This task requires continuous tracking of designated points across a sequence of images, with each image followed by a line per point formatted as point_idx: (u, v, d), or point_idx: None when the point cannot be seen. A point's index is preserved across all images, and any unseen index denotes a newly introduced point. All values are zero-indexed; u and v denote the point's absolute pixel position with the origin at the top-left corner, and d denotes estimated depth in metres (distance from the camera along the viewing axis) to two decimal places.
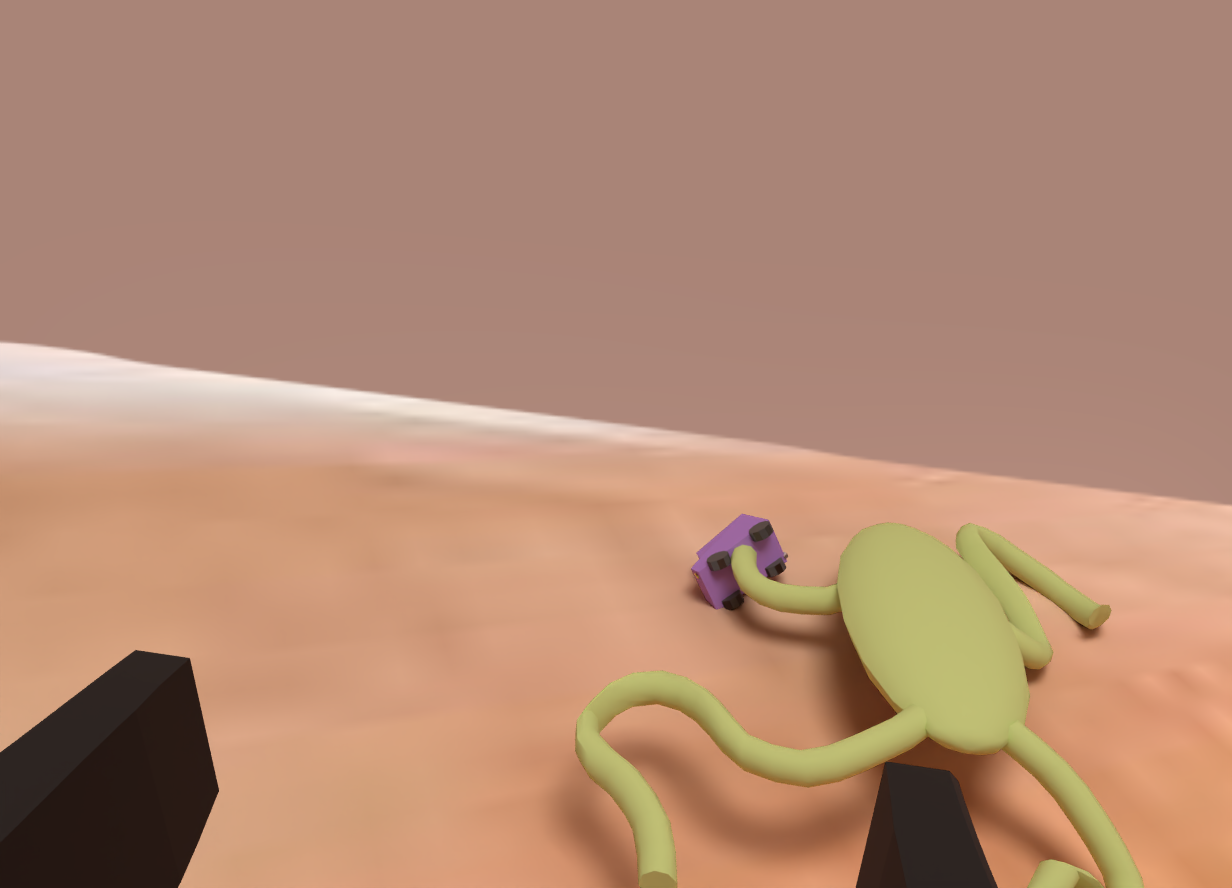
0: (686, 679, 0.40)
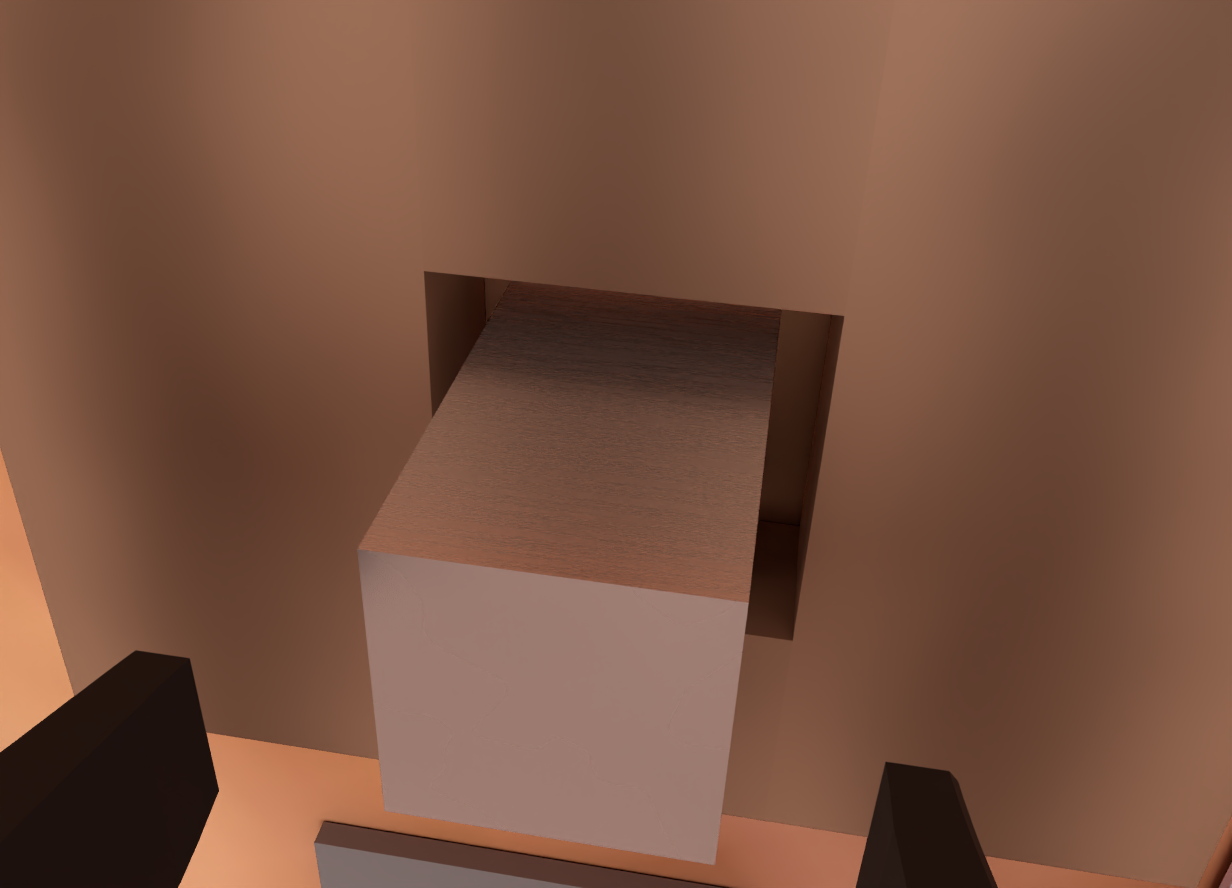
0: None
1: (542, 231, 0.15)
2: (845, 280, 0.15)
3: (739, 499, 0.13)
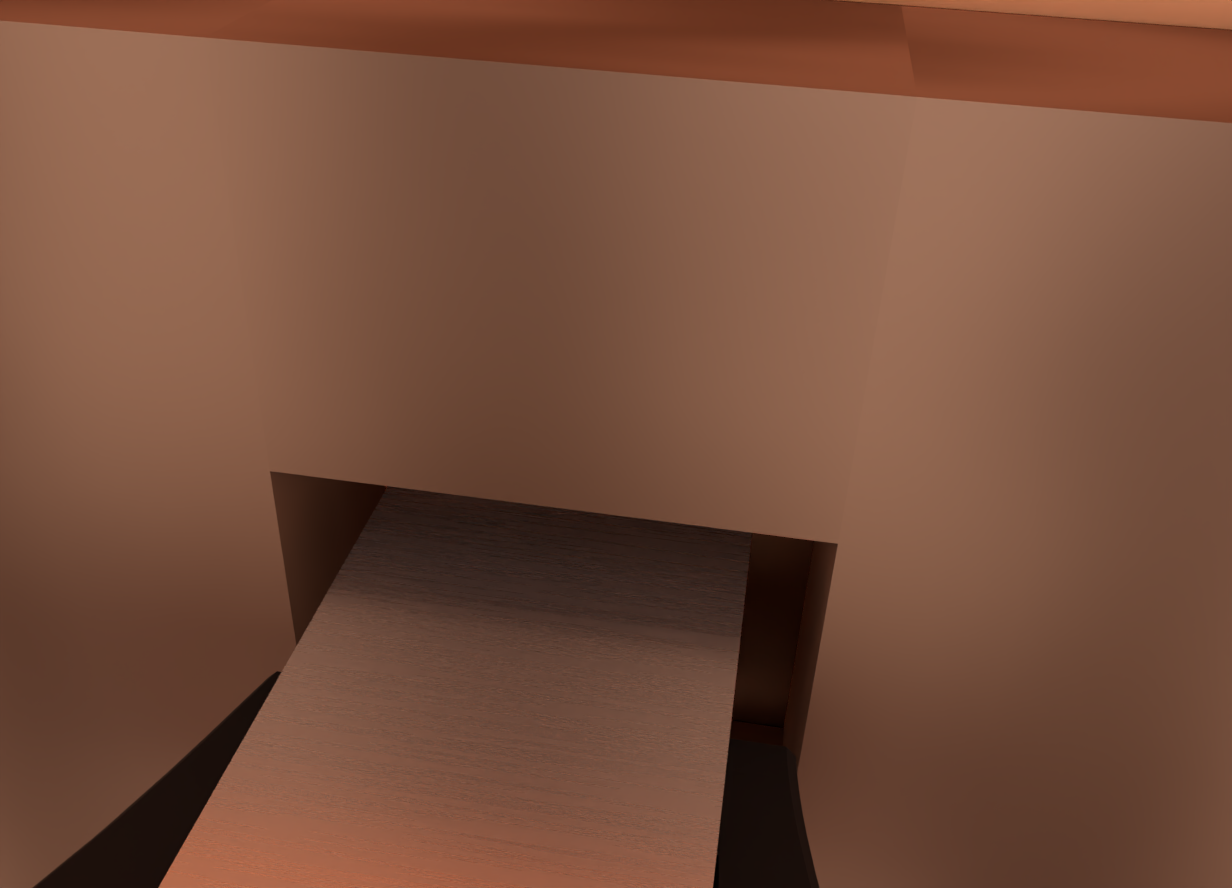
0: None
1: (424, 427, 0.11)
2: (839, 500, 0.11)
3: (684, 870, 0.09)
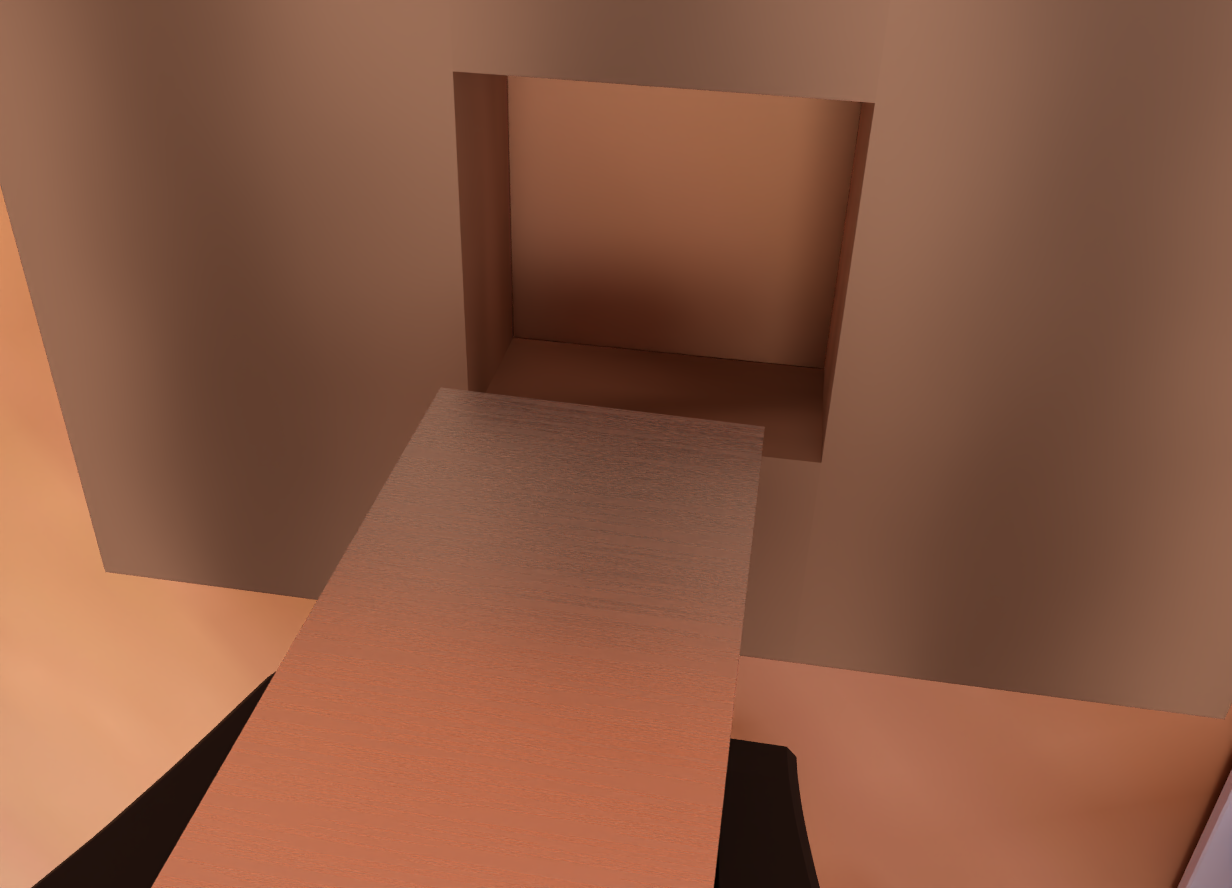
0: None
1: (572, 22, 0.15)
2: (876, 63, 0.15)
3: (687, 856, 0.09)
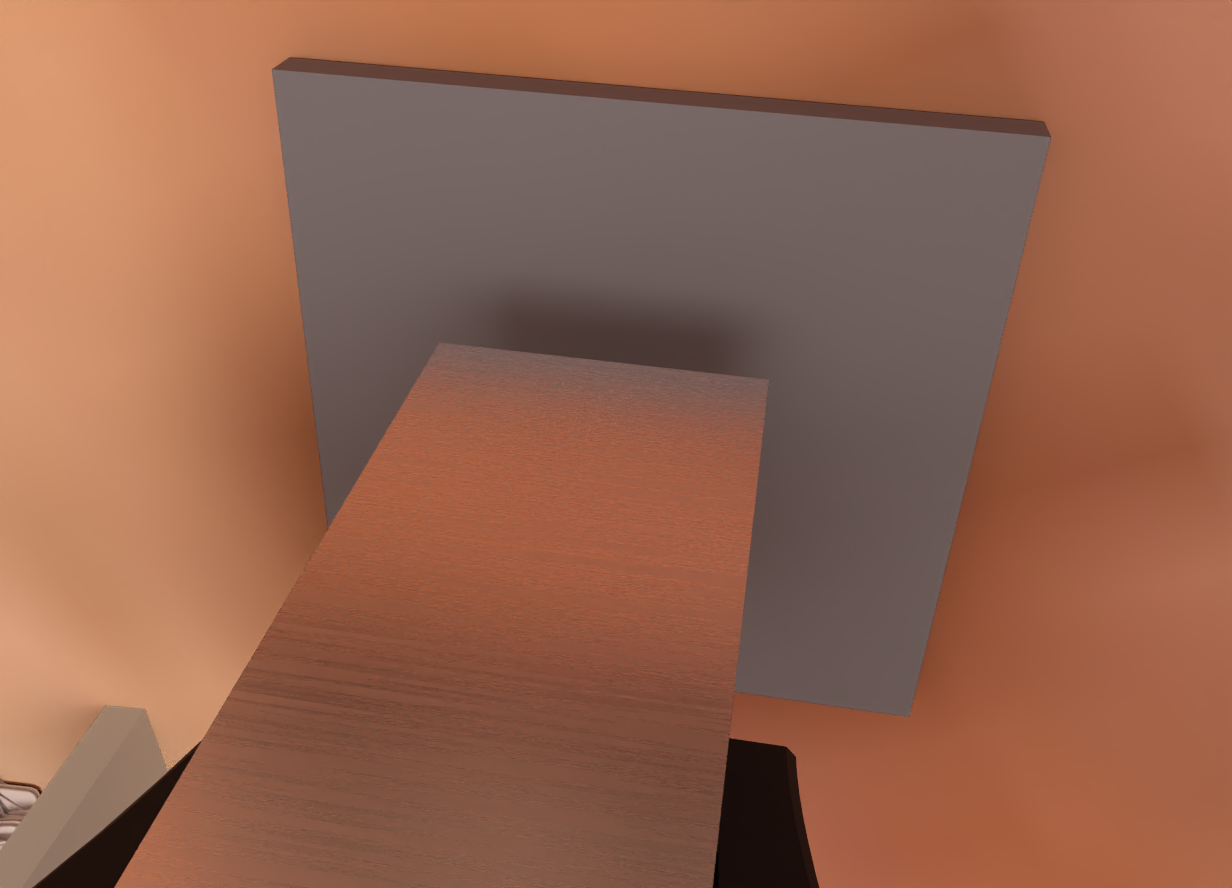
0: None
1: None
2: None
3: (690, 802, 0.09)
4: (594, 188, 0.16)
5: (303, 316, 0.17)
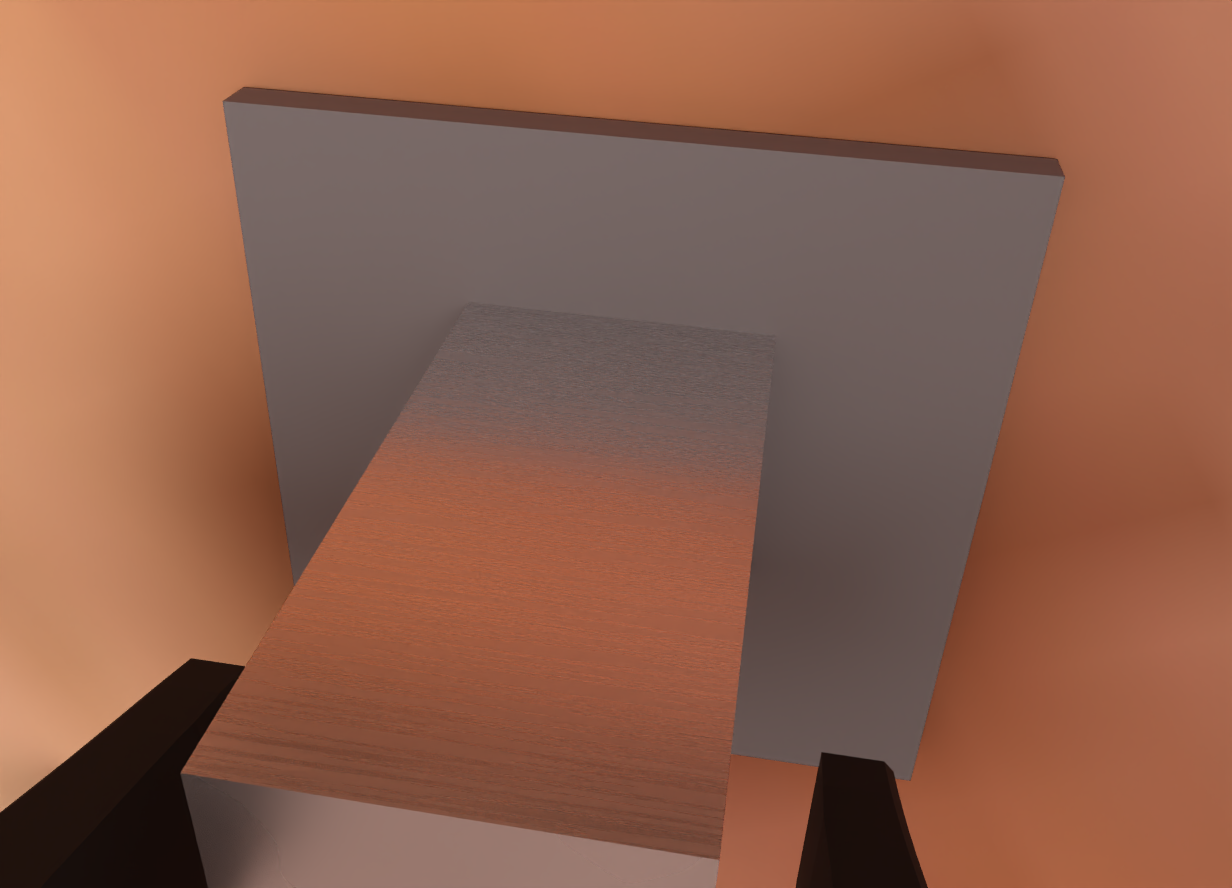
0: None
1: None
2: None
3: (710, 681, 0.10)
4: (571, 229, 0.15)
5: (262, 361, 0.16)
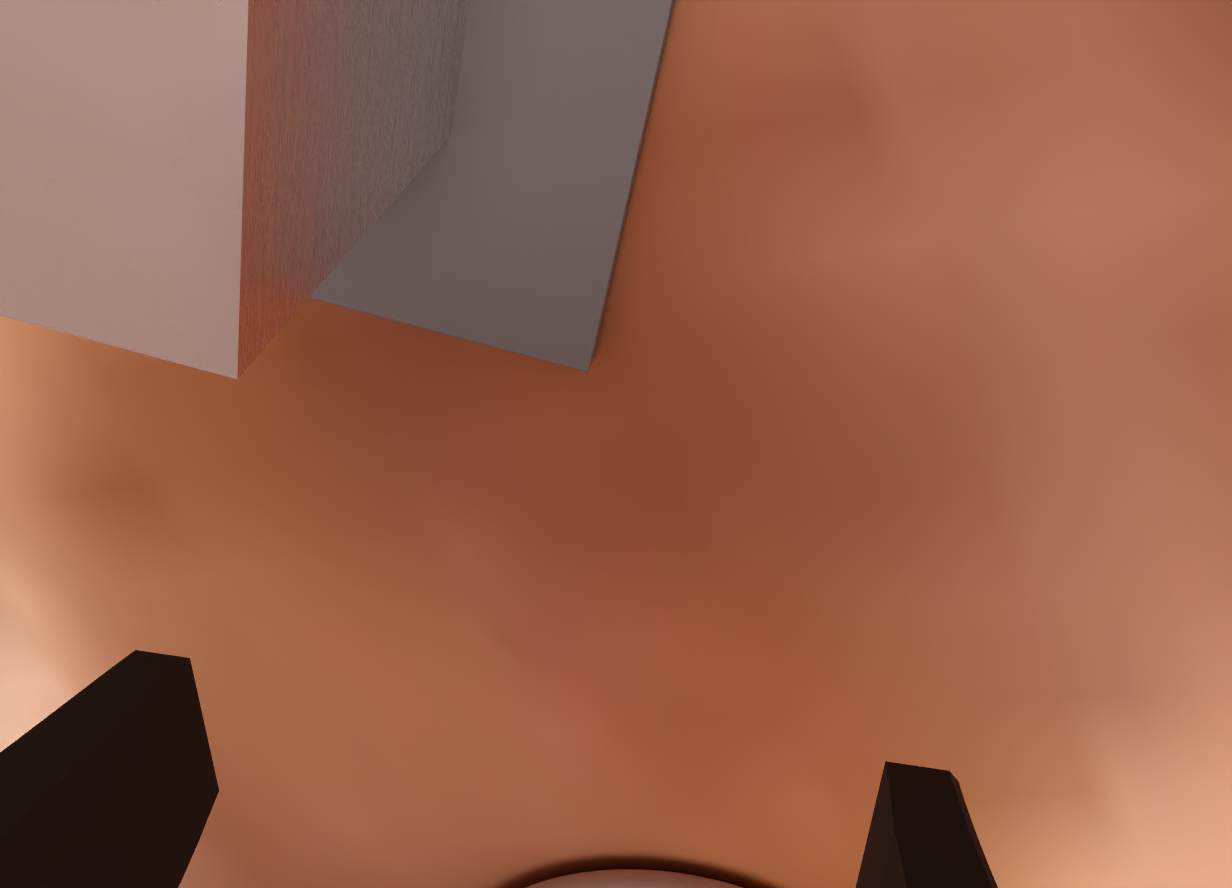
0: None
1: None
2: None
3: None
4: None
5: None
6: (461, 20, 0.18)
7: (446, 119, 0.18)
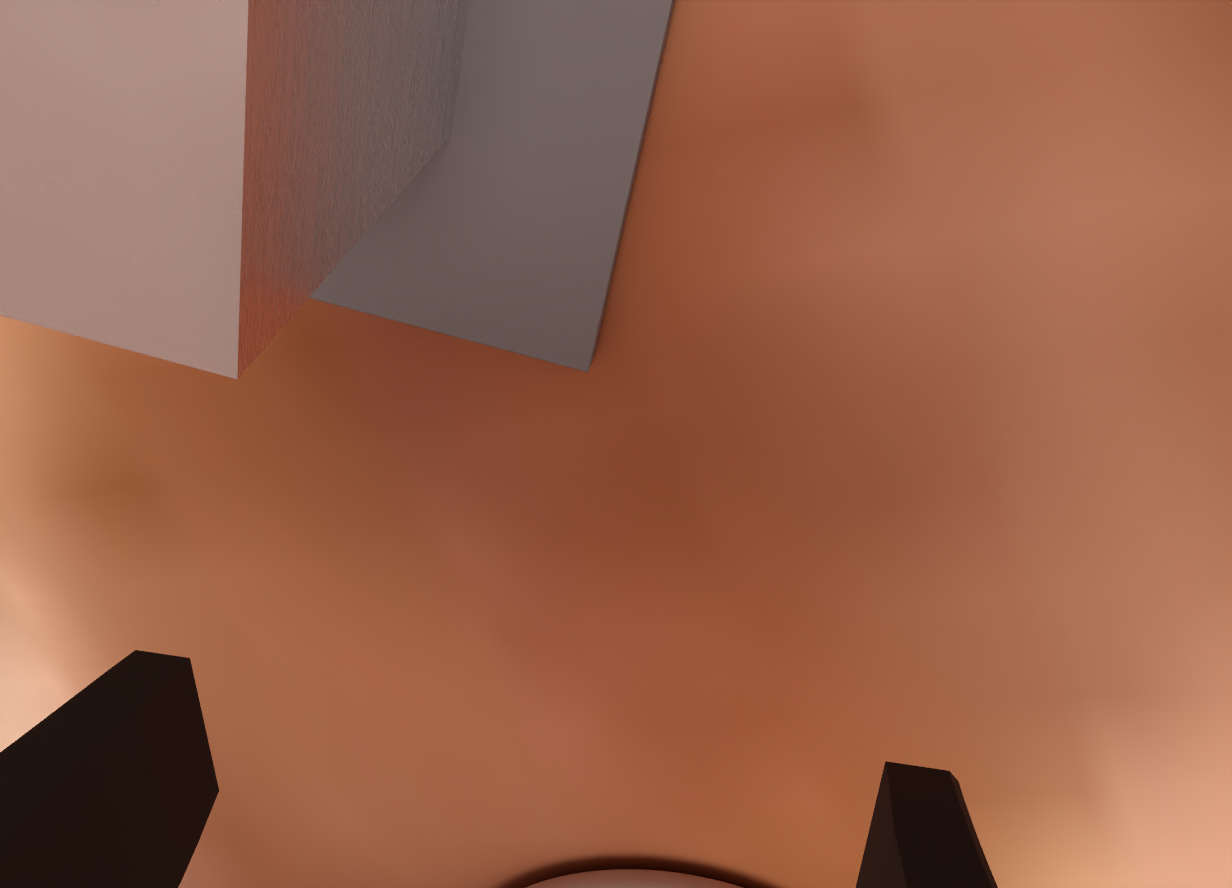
0: None
1: None
2: None
3: None
4: None
5: None
6: (461, 20, 0.18)
7: (446, 119, 0.18)
